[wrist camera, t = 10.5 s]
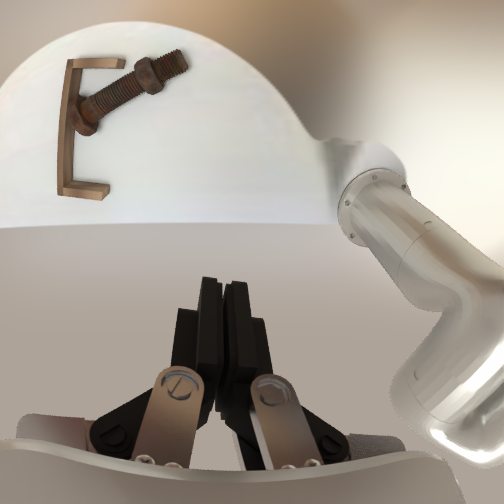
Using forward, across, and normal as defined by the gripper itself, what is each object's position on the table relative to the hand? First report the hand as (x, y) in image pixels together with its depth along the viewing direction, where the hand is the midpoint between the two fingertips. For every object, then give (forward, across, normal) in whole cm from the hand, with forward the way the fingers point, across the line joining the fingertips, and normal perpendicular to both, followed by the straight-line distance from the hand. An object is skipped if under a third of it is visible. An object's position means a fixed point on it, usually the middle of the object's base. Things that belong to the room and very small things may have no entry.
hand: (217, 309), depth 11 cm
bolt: (+30, +13, -7) cm, 33 cm away
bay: (+29, +18, -1) cm, 34 cm away
